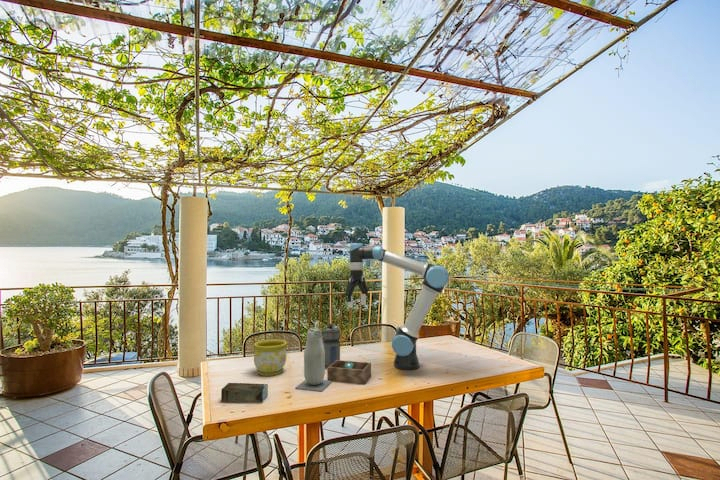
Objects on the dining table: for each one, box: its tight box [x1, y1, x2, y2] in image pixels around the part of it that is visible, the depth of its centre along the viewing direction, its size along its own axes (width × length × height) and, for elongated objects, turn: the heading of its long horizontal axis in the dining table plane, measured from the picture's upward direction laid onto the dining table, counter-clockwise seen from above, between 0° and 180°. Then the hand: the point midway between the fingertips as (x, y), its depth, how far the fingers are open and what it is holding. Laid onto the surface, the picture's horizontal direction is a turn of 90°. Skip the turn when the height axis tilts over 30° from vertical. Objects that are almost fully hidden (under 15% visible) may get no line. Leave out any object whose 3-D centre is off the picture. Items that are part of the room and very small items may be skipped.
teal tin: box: [344, 362, 354, 369], centre depth 189 cm, size 5×5×6 cm
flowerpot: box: [253, 338, 288, 377], centre depth 197 cm, size 18×18×16 cm
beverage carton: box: [220, 382, 269, 404], centre depth 158 cm, size 8×19×7 cm, turn 88°
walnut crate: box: [326, 359, 372, 385], centre depth 187 cm, size 20×14×7 cm
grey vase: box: [303, 327, 326, 385], centre depth 177 cm, size 10×10×28 cm
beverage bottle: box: [322, 323, 341, 369], centre depth 208 cm, size 10×13×25 cm
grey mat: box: [295, 379, 333, 393], centre depth 176 cm, size 14×14×1 cm
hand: (357, 306), depth 204 cm, fingers open, 13 cm apart
